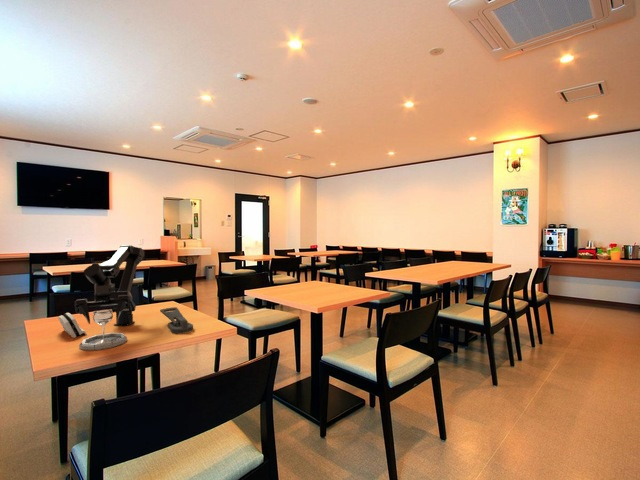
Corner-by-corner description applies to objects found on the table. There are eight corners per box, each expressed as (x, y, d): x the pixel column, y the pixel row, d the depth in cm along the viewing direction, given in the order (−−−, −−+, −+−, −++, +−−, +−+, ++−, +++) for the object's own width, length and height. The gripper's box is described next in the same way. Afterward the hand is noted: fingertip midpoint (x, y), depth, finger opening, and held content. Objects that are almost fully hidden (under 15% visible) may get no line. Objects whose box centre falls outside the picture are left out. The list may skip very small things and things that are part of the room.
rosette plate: (68, 348, 130) (68, 343, 130) (104, 335, 146) (104, 331, 146) (103, 352, 126) (103, 346, 126) (136, 338, 142) (136, 333, 142)
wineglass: (96, 339, 138) (94, 310, 138) (115, 337, 141) (114, 308, 140) (91, 345, 132) (90, 314, 131) (111, 342, 134) (110, 312, 134)
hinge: (87, 334, 148) (77, 314, 145) (74, 341, 145) (64, 320, 142) (77, 327, 159) (67, 308, 156) (65, 333, 156) (55, 314, 153)
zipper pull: (177, 306, 171) (195, 316, 151) (178, 319, 171) (195, 330, 152) (158, 309, 165) (174, 319, 146) (158, 323, 165) (174, 335, 146)
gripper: (73, 279, 135) (72, 313, 126) (128, 275, 144) (130, 306, 135) (76, 296, 142) (75, 329, 133) (128, 291, 151) (130, 322, 142)
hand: (103, 321), depth 136 cm, fingers open, 9 cm apart
